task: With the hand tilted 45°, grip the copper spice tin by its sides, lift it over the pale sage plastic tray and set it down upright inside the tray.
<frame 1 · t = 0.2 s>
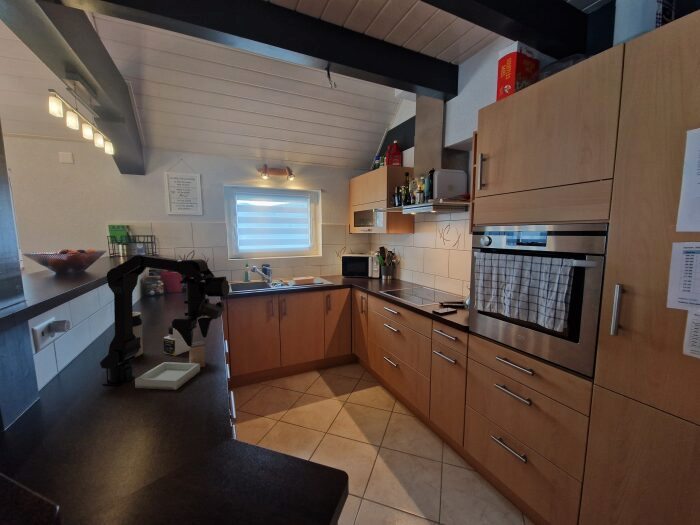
hand: (197, 341, 99), 15 cm above the countertop, tool pointing down, fingers open, 9 cm apart
medicine bottle: (176, 352, 128), on the countertop
travel mug: (131, 356, 123), on the countertop
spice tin: (197, 365, 114), on the countertop
tray: (169, 379, 102), on the countertop
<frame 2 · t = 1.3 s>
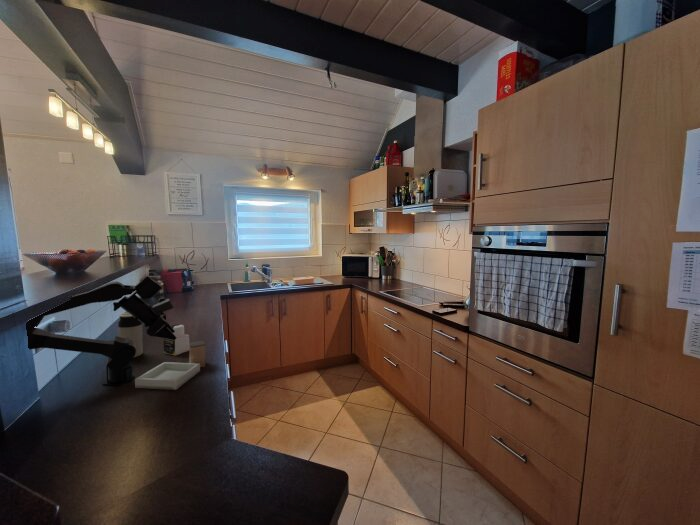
hand: (174, 335, 109), 13 cm above the countertop, tool tilted 45°, fingers open, 9 cm apart
nothing on the countertop moved.
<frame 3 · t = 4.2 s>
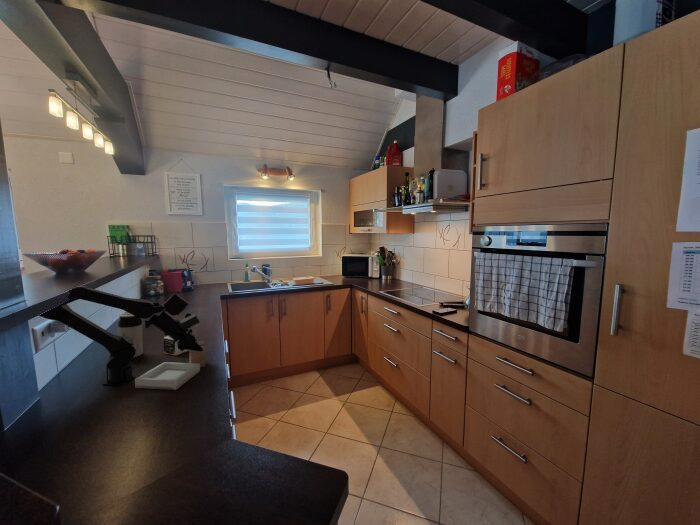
hand: (201, 348, 115), 7 cm above the countertop, tool tilted 45°, fingers closed on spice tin, 5 cm apart
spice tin: (197, 365, 114), on the countertop, touching gripper
everything else where it was.
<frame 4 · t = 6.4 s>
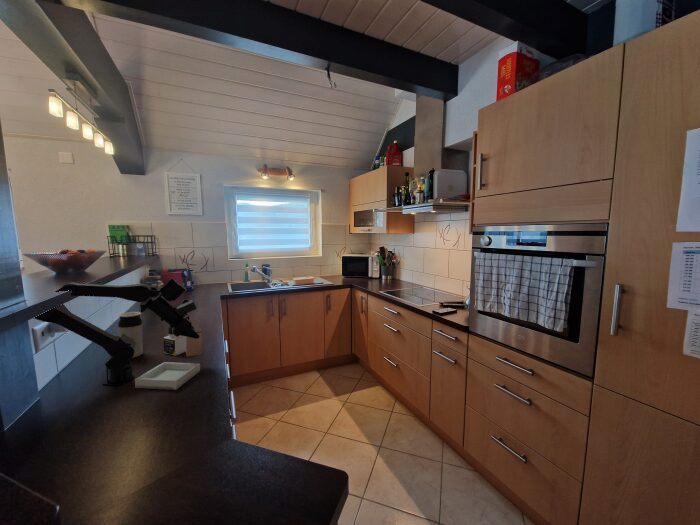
hand: (197, 335, 112), 12 cm above the countertop, tool tilted 45°, fingers closed on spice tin, 5 cm apart
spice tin: (193, 353, 112), point 6 cm above the countertop, touching gripper
everything else where it was.
when the fingers open (9 cm above the countertop, at t = 8.8 s): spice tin drops 1 cm, resting on tray.
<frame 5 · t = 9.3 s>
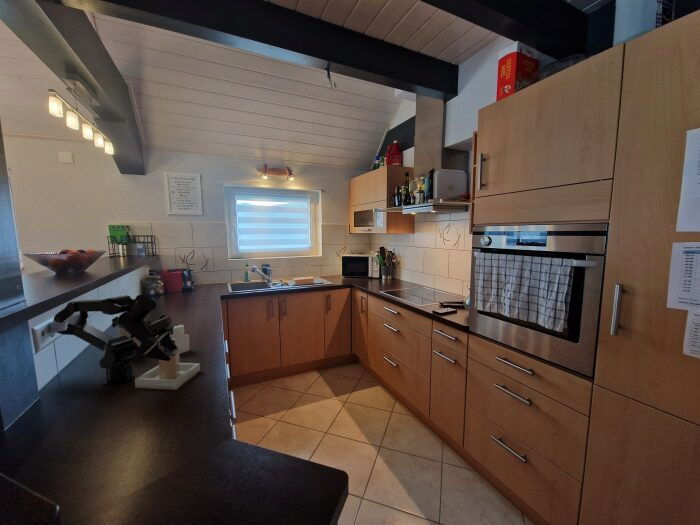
hand: (173, 355, 102), 9 cm above the countertop, tool tilted 45°, fingers open, 9 cm apart
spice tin: (169, 376, 102), point 1 cm above the countertop, touching tray
everything else where it was.
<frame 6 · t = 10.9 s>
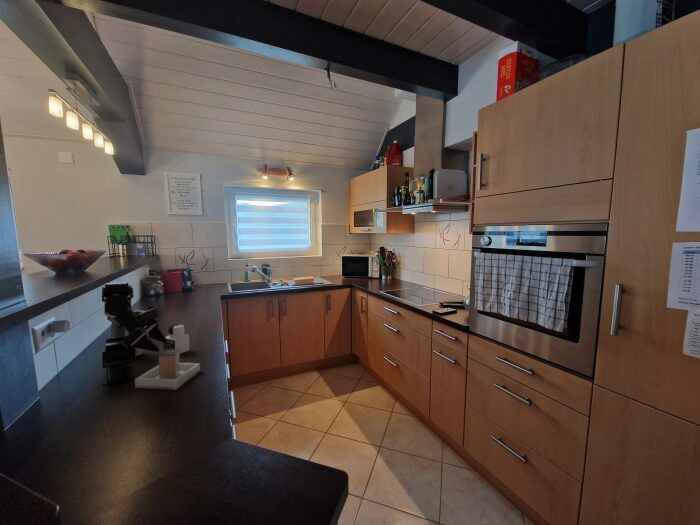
hand: (162, 346, 101), 12 cm above the countertop, tool tilted 45°, fingers open, 9 cm apart
travel mug: (131, 354, 123), on the countertop, touching arm
everything else where it was.
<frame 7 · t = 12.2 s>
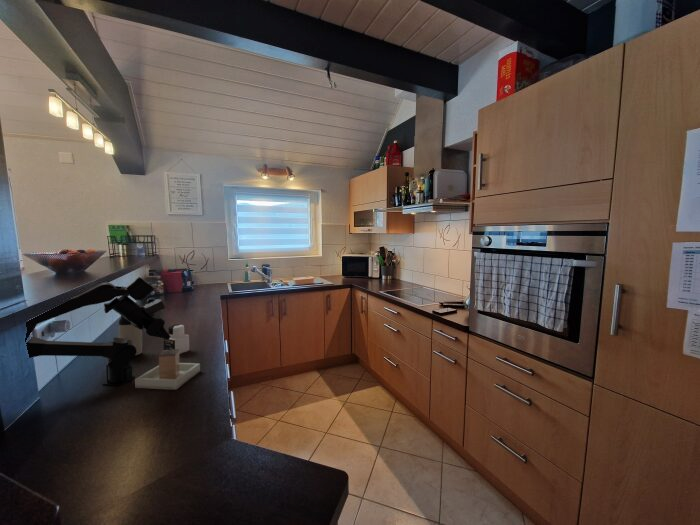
hand: (165, 335, 110), 13 cm above the countertop, tool tilted 45°, fingers open, 9 cm apart
travel mug: (130, 355, 122), on the countertop
everything else where it was.
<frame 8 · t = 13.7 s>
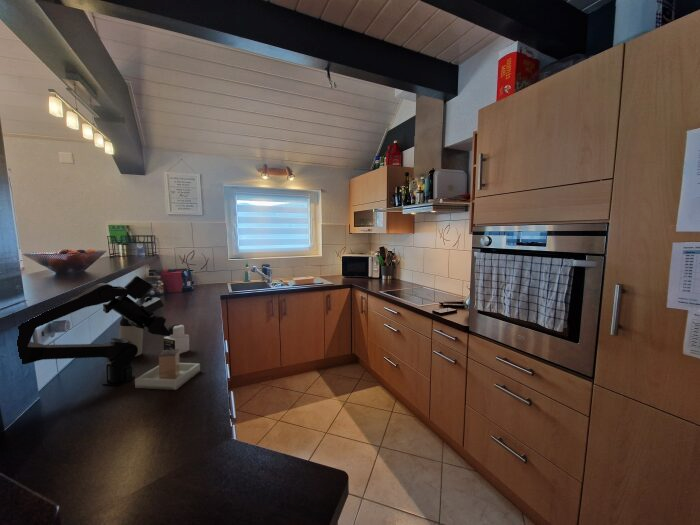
hand: (164, 332, 111), 14 cm above the countertop, tool tilted 45°, fingers open, 9 cm apart
at the end: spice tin inside the target area on the tray (0.0 cm from its centre), point 0.8 cm above the tray's base; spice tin tilted 0°; the gripper is holding nothing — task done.
